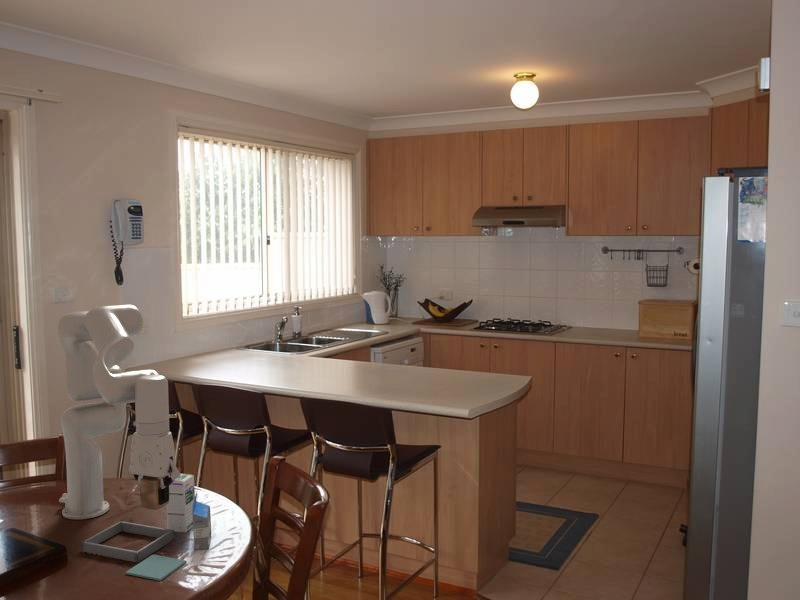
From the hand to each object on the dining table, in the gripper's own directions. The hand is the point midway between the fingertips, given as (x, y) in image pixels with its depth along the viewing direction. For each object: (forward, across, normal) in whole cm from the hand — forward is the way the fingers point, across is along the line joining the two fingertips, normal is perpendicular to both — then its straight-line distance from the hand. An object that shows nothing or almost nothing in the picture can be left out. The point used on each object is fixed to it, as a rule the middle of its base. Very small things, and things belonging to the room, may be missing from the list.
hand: (155, 500), depth 173 cm
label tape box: (+17, +2, +16) cm, 24 cm away
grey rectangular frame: (+17, -15, +8) cm, 24 cm away
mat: (+17, 0, 0) cm, 17 cm away
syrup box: (+17, -9, +22) cm, 29 cm away
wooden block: (+1, 0, 0) cm, 1 cm away
